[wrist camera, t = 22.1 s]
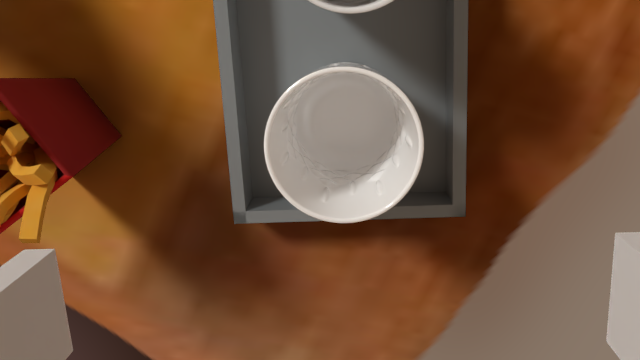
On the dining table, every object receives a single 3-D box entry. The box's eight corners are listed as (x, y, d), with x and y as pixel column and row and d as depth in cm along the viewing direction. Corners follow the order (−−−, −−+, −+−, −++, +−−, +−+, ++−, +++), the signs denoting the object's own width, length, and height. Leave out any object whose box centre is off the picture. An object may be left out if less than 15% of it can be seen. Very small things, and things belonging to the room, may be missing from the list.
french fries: (75, 57, 40) (-82, 83, 26) (156, 156, 42) (50, 233, 27) (-17, 134, 42) (-213, 200, 27) (63, 226, 43) (-81, 334, 29)
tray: (209, -173, 36) (195, -192, 33) (459, -192, 35) (471, -213, 32) (243, 206, 42) (234, 223, 39) (456, 199, 41) (465, 216, 38)
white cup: (271, 153, 40) (245, 197, 31) (305, 36, 38) (288, 45, 29) (384, 187, 41) (393, 242, 31) (424, 74, 38) (447, 95, 29)
